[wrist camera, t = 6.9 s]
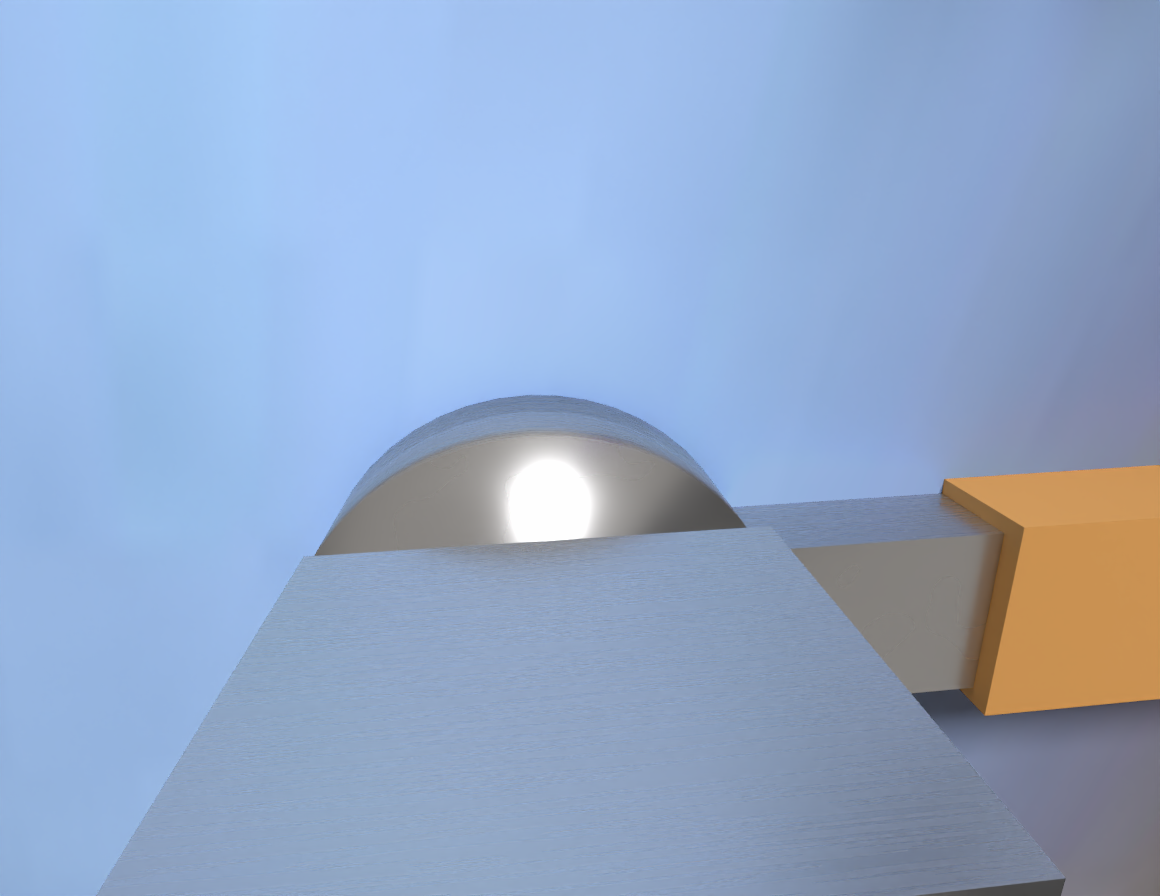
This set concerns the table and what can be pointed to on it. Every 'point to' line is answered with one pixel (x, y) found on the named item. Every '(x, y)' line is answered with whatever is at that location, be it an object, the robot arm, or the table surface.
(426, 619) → the brushed metal cube
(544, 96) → the table surface
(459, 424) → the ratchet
